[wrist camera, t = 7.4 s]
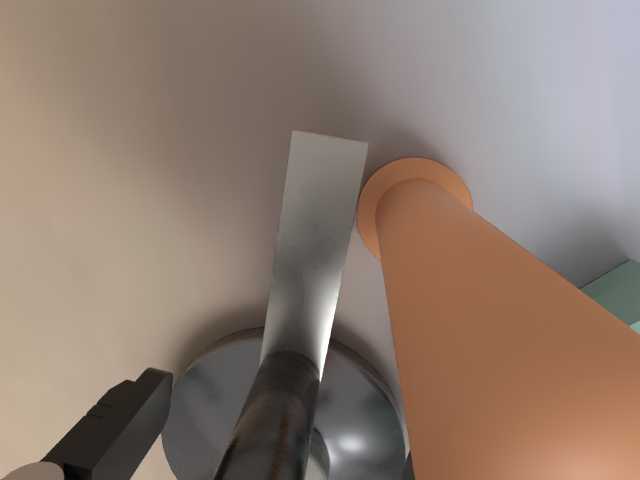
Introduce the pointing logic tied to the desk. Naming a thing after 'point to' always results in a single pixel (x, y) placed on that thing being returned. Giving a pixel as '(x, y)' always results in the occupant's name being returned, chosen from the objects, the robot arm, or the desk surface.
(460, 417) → the stop peg
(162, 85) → the desk surface
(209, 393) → the crank base
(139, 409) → the robot arm
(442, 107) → the desk surface
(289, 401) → the crank
